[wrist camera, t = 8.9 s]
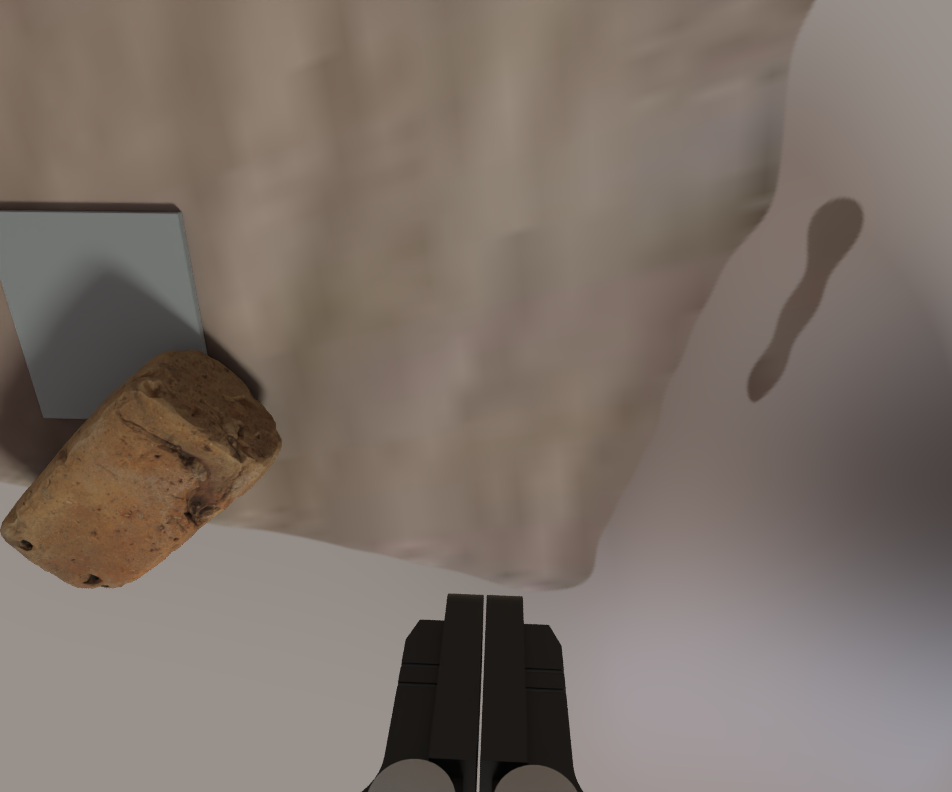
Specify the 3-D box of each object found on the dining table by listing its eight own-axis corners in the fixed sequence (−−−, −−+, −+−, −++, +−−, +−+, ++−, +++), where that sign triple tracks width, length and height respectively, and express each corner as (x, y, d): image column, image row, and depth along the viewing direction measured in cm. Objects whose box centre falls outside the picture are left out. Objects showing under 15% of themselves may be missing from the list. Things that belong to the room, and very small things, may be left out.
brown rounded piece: (178, 322, 45) (34, 475, 52) (124, 378, 38) (-31, 543, 46) (302, 422, 49) (152, 551, 56) (272, 488, 42) (108, 623, 50)
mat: (-15, 209, 43) (-21, 211, 43) (181, 211, 43) (177, 213, 42) (48, 414, 50) (43, 418, 49) (219, 418, 49) (215, 422, 49)
